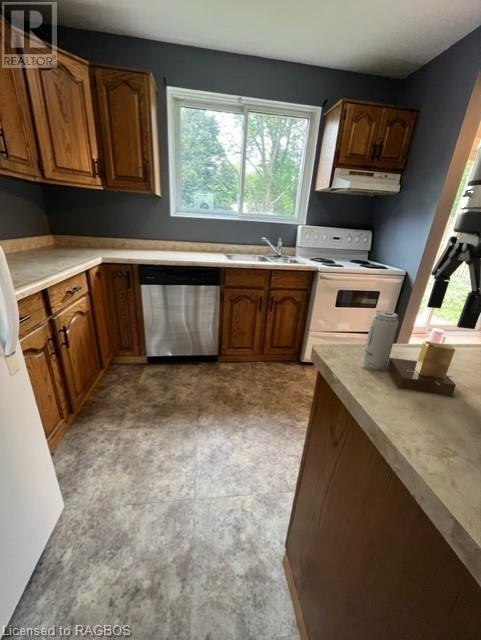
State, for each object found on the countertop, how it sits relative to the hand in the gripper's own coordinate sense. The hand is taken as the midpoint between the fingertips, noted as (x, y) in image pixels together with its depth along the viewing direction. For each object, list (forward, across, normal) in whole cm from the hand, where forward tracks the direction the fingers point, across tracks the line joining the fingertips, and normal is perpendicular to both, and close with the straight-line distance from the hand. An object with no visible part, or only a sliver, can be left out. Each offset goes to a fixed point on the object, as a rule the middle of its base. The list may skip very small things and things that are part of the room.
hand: (447, 316), depth 59 cm
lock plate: (+17, -2, -1) cm, 18 cm away
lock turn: (+14, 0, 0) cm, 14 cm away
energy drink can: (+18, -6, -10) cm, 21 cm away
